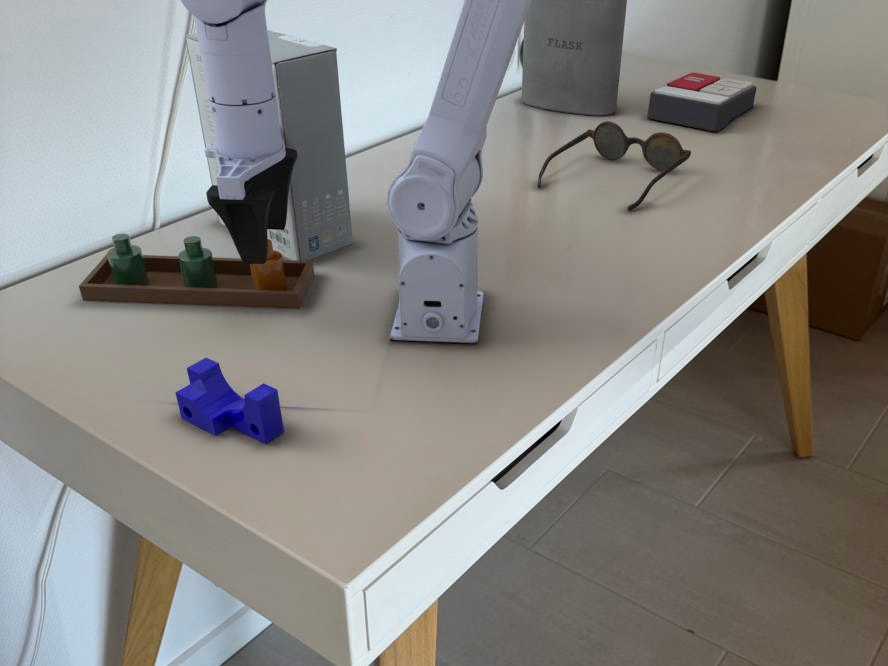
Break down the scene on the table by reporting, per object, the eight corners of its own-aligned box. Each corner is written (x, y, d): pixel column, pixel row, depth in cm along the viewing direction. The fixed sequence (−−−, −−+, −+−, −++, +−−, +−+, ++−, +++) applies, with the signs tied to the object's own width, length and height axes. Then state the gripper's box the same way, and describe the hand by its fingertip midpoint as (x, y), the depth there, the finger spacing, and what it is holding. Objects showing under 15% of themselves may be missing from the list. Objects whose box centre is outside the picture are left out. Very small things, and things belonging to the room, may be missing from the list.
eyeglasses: (687, 175, 116) (694, 135, 113) (636, 213, 106) (641, 171, 103) (586, 153, 122) (589, 114, 119) (529, 187, 112) (531, 146, 109)
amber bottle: (282, 297, 88) (275, 249, 85) (250, 296, 88) (242, 248, 85) (290, 282, 91) (283, 235, 88) (258, 281, 91) (251, 234, 88)
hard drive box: (356, 245, 99) (340, 48, 86) (299, 267, 94) (274, 63, 82) (271, 206, 107) (245, 20, 95) (215, 224, 103) (180, 32, 90)
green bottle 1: (142, 292, 89) (130, 244, 86) (110, 291, 89) (97, 243, 86) (153, 277, 91) (142, 230, 88) (122, 276, 92) (110, 229, 88)
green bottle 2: (212, 295, 89) (203, 247, 86) (180, 293, 89) (170, 245, 86) (222, 280, 91) (213, 232, 88) (190, 279, 91) (180, 231, 88)
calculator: (759, 81, 136) (722, 100, 126) (752, 111, 139) (716, 132, 128) (690, 69, 141) (650, 87, 131) (685, 98, 143) (645, 118, 133)
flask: (514, 105, 138) (518, -45, 125) (528, 95, 142) (534, -52, 129) (608, 119, 133) (622, -36, 120) (620, 108, 137) (635, -43, 125)
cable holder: (181, 418, 73) (171, 376, 71) (214, 398, 75) (206, 357, 73) (251, 453, 70) (243, 410, 67) (284, 432, 72) (277, 389, 69)
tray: (299, 312, 87) (297, 294, 86) (83, 303, 88) (78, 285, 87) (315, 278, 93) (313, 260, 91) (111, 270, 94) (107, 253, 92)
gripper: (220, 71, 84) (243, 213, 93) (169, 121, 73) (200, 277, 81) (295, 73, 84) (312, 215, 92) (255, 123, 72) (278, 280, 81)
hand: (265, 244), depth 87 cm, fingers open, 7 cm apart
